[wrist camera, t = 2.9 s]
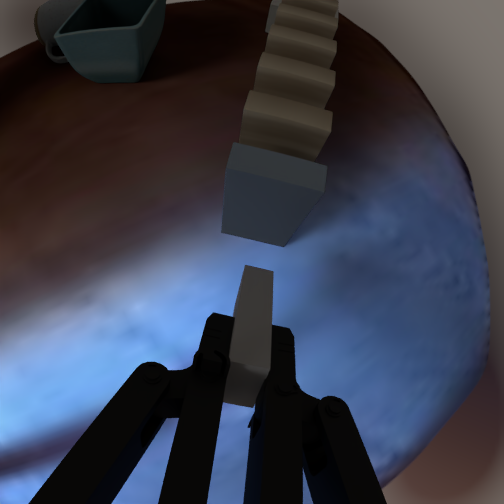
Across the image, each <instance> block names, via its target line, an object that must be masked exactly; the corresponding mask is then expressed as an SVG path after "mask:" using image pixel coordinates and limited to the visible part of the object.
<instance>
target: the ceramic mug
mask: <svg viewBox="0 0 504 504" xmlns="http://www.w3.org/2000/svg"><path fill="white" fill-rule="evenodd" d="M82 1H83V0H49V1H47V2H46V3H44V4H43V5H41V6H40V7H39V8H38V9H37V11H36V14H35V18H34V26H35V32H36V35H37V37H38V39H39V41H40V42H41V44H43V45H44V46H46V53H47V55H48V57H49V58H50V59H51V60H52V61H53V62H56V63H66V62H69V61H68V60H67V58H66V57H65V56H63V57H62V56H58V57H56V56H53V54H52V47H53V46H58V44H57V42H56V40H55V38H54V35H55V33H56V32H57V30H58V29H59V28H60V27H61V26H62V24H63V23H64V22H65V21H66V20H67V19H68V17H69V16H70V15H71V14H72V13H73V12H74V11H75V9H76V8H77V7H78V6H79V5H80V3H81V2H82Z"/></svg>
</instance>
